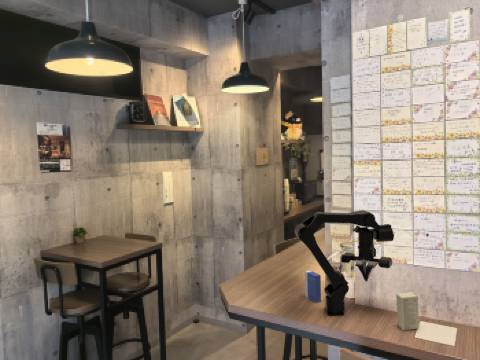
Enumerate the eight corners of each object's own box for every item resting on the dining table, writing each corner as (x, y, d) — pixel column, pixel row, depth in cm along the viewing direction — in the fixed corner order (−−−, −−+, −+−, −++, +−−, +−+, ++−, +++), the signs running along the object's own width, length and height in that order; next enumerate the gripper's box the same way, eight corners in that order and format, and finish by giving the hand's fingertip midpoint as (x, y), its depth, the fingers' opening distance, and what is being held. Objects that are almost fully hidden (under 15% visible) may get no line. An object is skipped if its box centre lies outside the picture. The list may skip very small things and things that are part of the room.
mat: (414, 337, 134) (414, 337, 134) (420, 321, 146) (420, 321, 146) (454, 346, 128) (454, 345, 128) (457, 328, 139) (457, 328, 139)
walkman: (321, 301, 167) (320, 274, 166) (315, 303, 166) (315, 275, 164) (310, 295, 174) (309, 269, 173) (305, 296, 173) (304, 270, 172)
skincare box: (413, 323, 144) (412, 291, 143) (419, 329, 139) (418, 296, 138) (396, 324, 144) (395, 292, 143) (402, 330, 139) (401, 297, 138)
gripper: (395, 240, 156) (395, 278, 158) (349, 236, 166) (349, 271, 168) (388, 247, 147) (389, 287, 148) (340, 242, 157) (340, 279, 159)
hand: (366, 281), depth 156 cm, fingers closed
